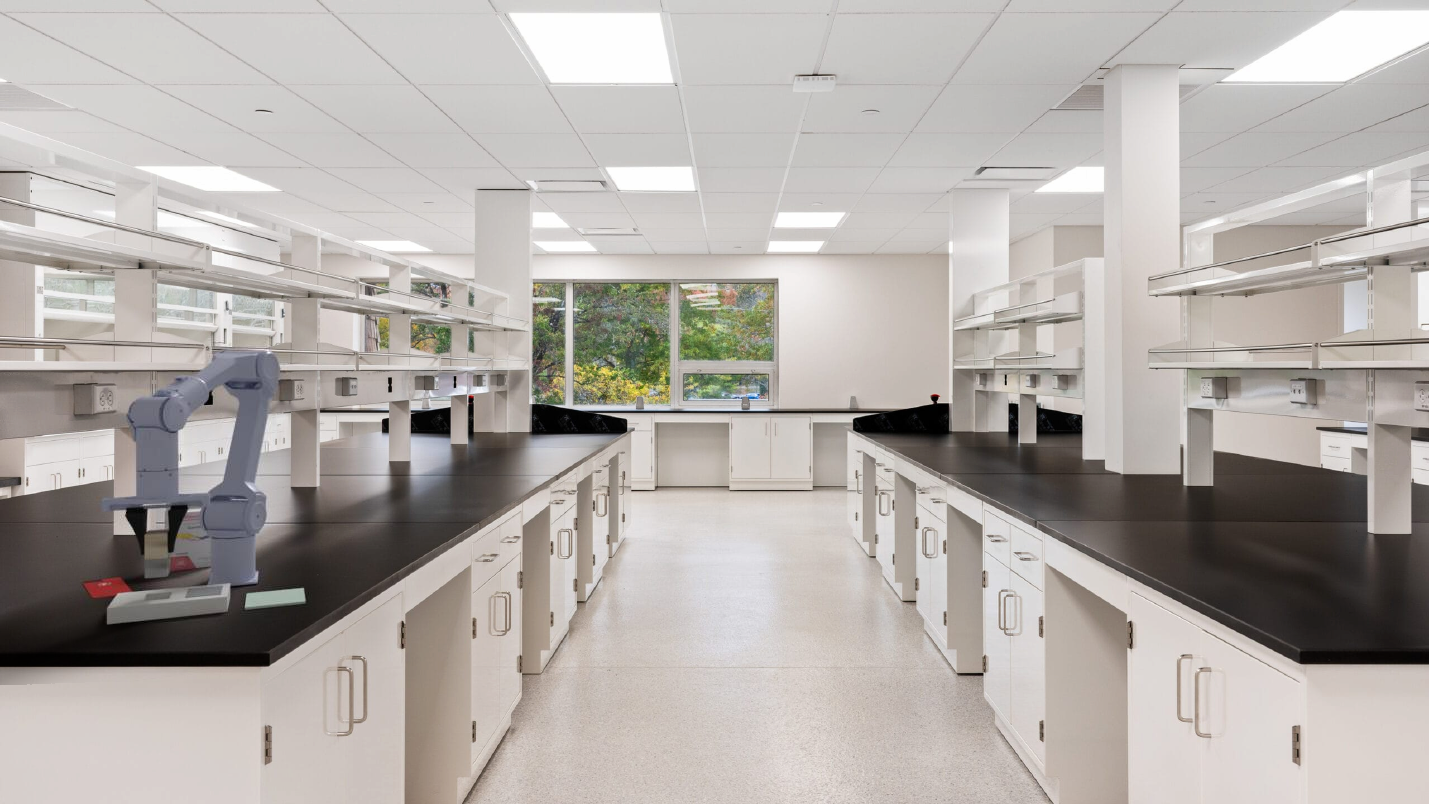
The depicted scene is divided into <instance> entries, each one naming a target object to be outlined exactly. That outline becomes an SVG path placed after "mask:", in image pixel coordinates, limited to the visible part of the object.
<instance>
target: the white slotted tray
mask: <svg viewBox="0 0 1429 804" xmlns="http://www.w3.org/2000/svg"><path fill="white" fill-rule="evenodd" d="M230 599H231V586H230V583H226V584H215V585H207V584H206V585H205V584H204V585H195V586H194V585H193V586H187V587H186V586H184V587H183V586H182V587H173V588H172V587H171V588H162V589H152V590H151V589H150V590H149V589H148V590H141V591H140V590H139V591H132V592H126V593H118V594H117V595H116V596H115V597H114V598H113V599H112V601H111V602H110V604H109V605H108V606H107V607H106V625H113V624H121V623H123V624H124V623H131V622H142V621H144V622H145V621H152V620H153V621H154V620H160V619H162V620H163V619H172V618H179V617H180V618H181V617H182V618H183V617H190V616H199V615H200V616H201V615H210V614H217V613H218V614H219V613H227V612H228V609H229V604H230V602H231V601H230Z"/></svg>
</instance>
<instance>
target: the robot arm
mask: <svg viewBox="0 0 1429 804" xmlns="http://www.w3.org/2000/svg"><path fill="white" fill-rule="evenodd" d="M280 373H281V365H280V363H279V360H278V358H277V356H276V354H275V353H274V352H273V351H271V350H268V349H265V350H229V349H221V350H219V351H218V352H217V353H216V352H215V354H213V355H212V357H211V362H210V363H209V364H206V366H205V367H203V368H202V369H201V370H200V371H198V372H197V373H196V374H195V375H188V374H187V375H186V374H179V375H176V376H175V377H174V378H173V379H174V381H172V382H171V383H169V384H168V385H166V386H165V387H160V388H158V389H157V390H156V392H155V393H153V394H152V395H151V396H140V397H138V398H136V399H135V400H134V401H132V402H131V404H130V405H129V407H128V410H127V413H125V418H126V423H127V425H128V427H130V431H131V439H132V441H133V442H135V475H136V476H135V490H136V491H135V493H136V494H135V495H134V496H121V497H110V498H109V497H105V498H102V499H101V512H102V513H103V512H104V513H106V512H113V511H125V514H124V517H125V519H126V520H127V522H128V524H129V525H130V527H131V528H132V530H133V532H134V535H135V537H136V540H137V543H138V546H139V551H140V555H142V556H143V555H144V556H145V534H146V533H147V531H148V511H149V510H151V509H152V510H153V509H166V508H171V509H170V510H169V511H168V523H169V538H168V553H173V552H174V548H175V541H176V537H177V534H178V531H179V528H180V526H181V523H182V521H183V519H184V517H185V515H186V513H187V511H188V509H189V508H188V507H195V506H202V508H201V510H200V514H199V521H200V525H201V527H202V529H203V530H204V531H206V532H207V536H210V537H211V566H210V576H209V579H208V581H207V584H206V585H215V584H226V583H230V587H235V586H236V587H237V586H246V585H255V584H258V582H259V581H258V580H259V571H258V570H256V535H257V534H260V531H261V530H262V529H263V527H264V526H265V524H266V520H267V498H268V497H267V495H266V494H265V492H263V490H261V489H260V488H259V487H258V486H257V485H256V484H255V483H256V477H257V473H258V469H259V463H260V457H261V453H262V447H263V443H264V439H265V438H264V437H265V433H266V427H267V423H268V417H269V413H270V412H269V411H270V407H271V403H272V398H273V397H275V396H276V394H277V389H278V386H279V380H280V379H279V378H280ZM221 386H223V388H224V389H225V390H226V391H227V393H228V394H229V395H231V397H232V396H233V398H236V399H237V401H238V409H237V413H236V418H235V422H234V423H235V424H234V426H233V433H232V437H231V442H230V445H229V446H230V447H229V451H228V456H227V461H226V465H225V470H224V474H223V479H222V481H221V482H220V483H219V484H217V485H215V486H214V487H212V489H210V490H208V492H207V493H208V494H193V493H179V431H180V430H183V429H184V428H185V425H186V424H187V421H188V418H189V417H191V414H192V413H193V412H194V411H196V410H197V409H199V408H200V407H202V406H203V405H205V404H206V402H208V400H209V397H210V392H212V391H213V390H215V389H217V388H218V387H221ZM166 503H171V504H166Z"/></svg>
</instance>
